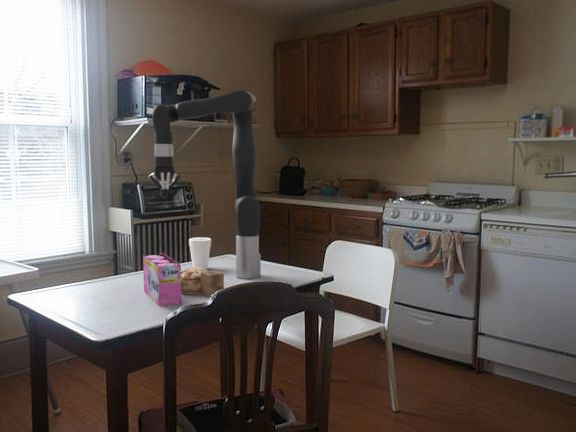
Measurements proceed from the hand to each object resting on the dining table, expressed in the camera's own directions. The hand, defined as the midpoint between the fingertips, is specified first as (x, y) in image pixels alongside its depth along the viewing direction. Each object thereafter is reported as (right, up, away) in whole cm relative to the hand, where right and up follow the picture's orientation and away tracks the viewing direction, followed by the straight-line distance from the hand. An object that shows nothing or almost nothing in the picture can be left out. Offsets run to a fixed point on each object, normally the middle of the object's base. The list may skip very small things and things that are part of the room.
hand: (164, 198), depth 219 cm
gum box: (+5, -36, -28) cm, 46 cm away
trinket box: (+15, -35, -17) cm, 42 cm away
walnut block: (+23, -35, -25) cm, 49 cm away
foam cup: (+12, -30, +18) cm, 37 cm away
